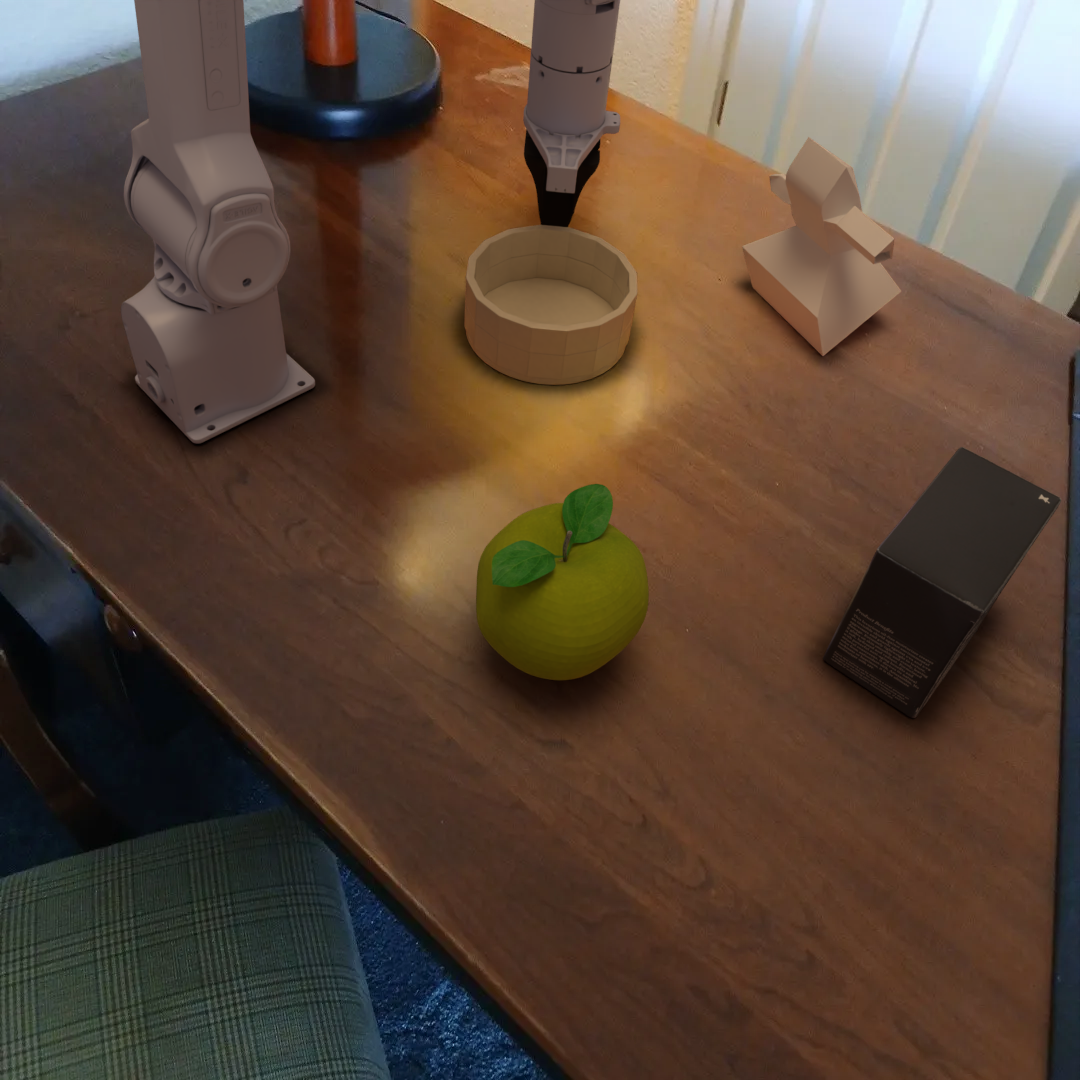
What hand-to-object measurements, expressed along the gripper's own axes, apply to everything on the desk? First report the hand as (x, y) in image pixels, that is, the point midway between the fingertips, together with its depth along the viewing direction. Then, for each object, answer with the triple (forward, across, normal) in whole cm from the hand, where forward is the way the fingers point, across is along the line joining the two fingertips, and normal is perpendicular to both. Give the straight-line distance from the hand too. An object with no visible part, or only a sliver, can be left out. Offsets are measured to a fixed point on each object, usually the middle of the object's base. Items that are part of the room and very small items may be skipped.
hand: (554, 223), depth 83 cm
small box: (+3, -36, -23) cm, 42 cm away
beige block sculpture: (+3, -4, -20) cm, 21 cm away
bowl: (+2, -10, 0) cm, 11 cm away
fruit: (+3, -38, -1) cm, 39 cm away
